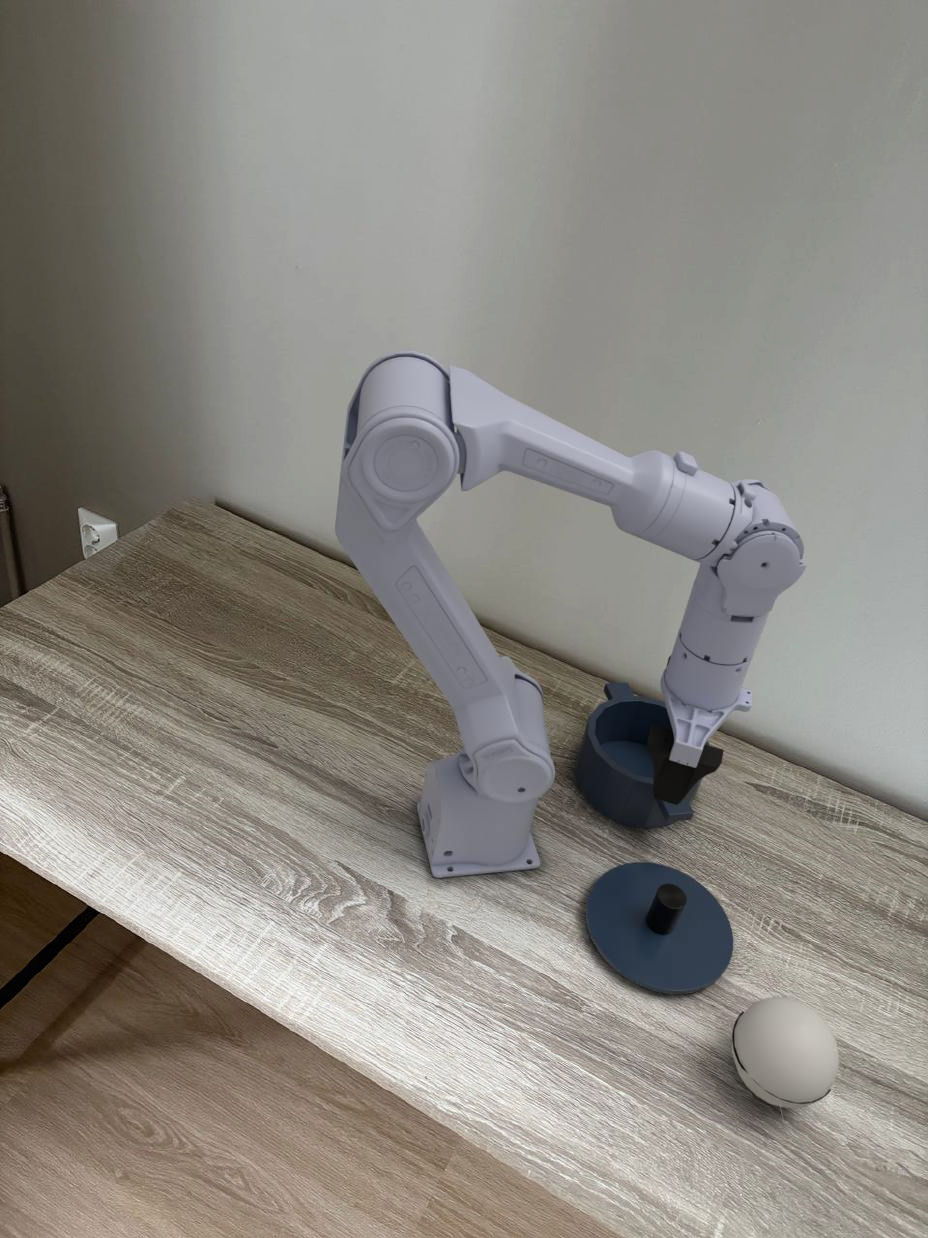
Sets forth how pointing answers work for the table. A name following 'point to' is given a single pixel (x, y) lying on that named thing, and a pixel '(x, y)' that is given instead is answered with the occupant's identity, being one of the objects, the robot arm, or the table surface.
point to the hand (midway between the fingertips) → (673, 766)
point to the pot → (625, 761)
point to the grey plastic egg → (785, 1052)
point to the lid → (659, 928)
